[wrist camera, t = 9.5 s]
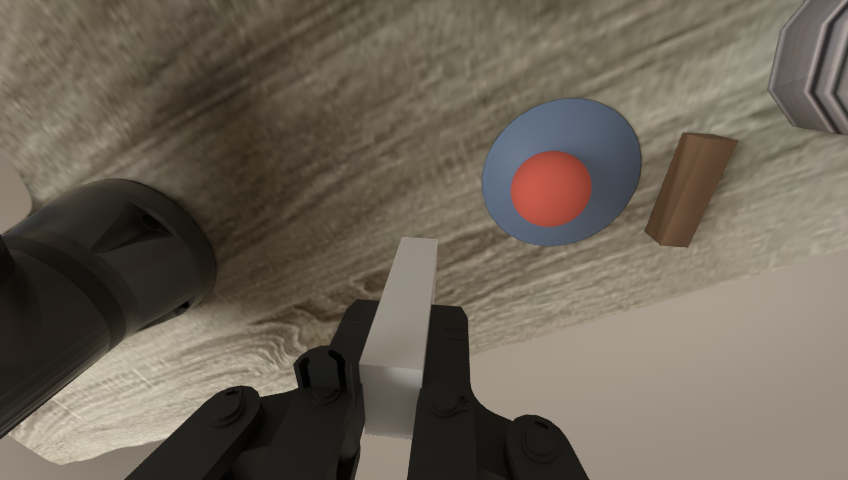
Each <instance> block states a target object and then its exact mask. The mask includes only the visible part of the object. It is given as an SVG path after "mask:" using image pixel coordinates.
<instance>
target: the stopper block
mask: <svg viewBox="0 0 848 480" xmlns="http://www.w3.org/2000/svg"><path fill="white" fill-rule="evenodd" d="M737 142H738V140H734V139H730V138H726V137H722V136H718V135H714V134H698V133H683V134H682V136H681V139H680V141H679V144H678V147H677V149H676V152H675V154H674V157H673V159H672V162H671V165H670V167H669V170H668V172H667V175H666V177H665V180H664V183H663V185H662V188H661V190H660V193H659V196H658V198H657V201H656V203H655V206H654V208H653V211H652V214H651V216H650V219H649V221H648V224H647V226H646V229H645V232H646V233H647V234H648V235H649V236H650V237H651V238H653V239H654V240H655V241H656V242H657V243H658V244H659V245H661V246H674V247H688V246H689V244H690V242H691V240H692V238H693V236H694V233H695V231H696V229H697V227H698V225H699V223H700V221H701V219H702V216H703V214H704V212H705V210H706V208H707V206H708V204H709V202H710V199H711V197H712V195H713V193H714V191H715V189H716V187H717V185H718V182H719V180H720V178H721V176H722V174H723V172H724V170H725V167H726V165H727V163H728V161H729V159H730V157H731V155H732V153H733V150H734V148H735V146H736V144H737Z"/></svg>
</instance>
